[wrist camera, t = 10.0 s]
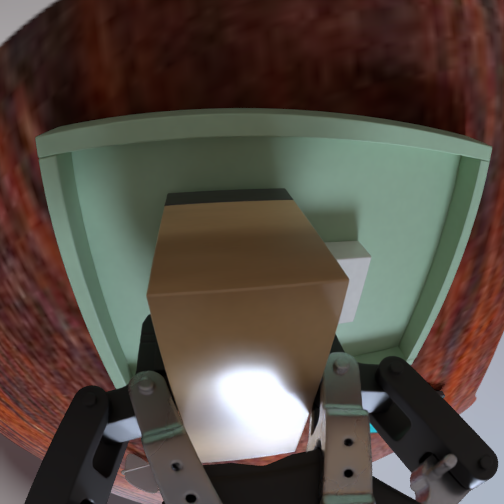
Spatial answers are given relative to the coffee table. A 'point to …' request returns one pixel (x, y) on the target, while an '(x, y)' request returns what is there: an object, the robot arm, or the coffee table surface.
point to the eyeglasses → (139, 474)
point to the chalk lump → (351, 273)
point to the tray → (264, 177)
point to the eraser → (243, 317)
